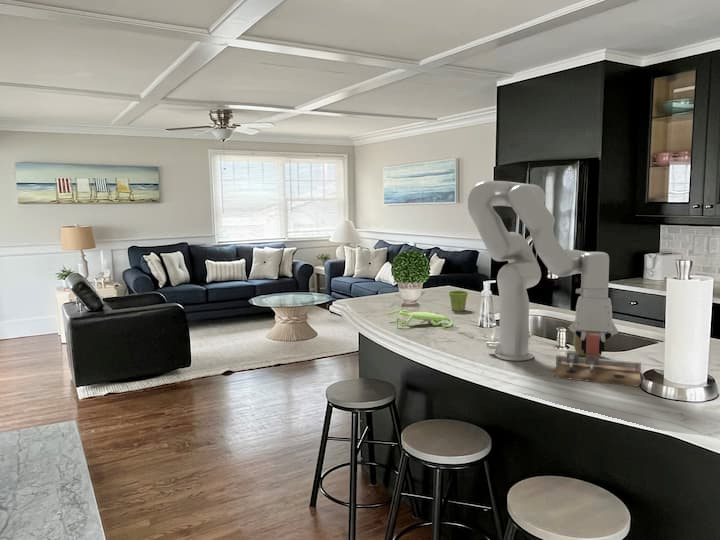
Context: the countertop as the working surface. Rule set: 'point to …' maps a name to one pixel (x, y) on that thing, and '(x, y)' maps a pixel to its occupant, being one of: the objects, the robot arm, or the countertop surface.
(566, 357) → the trammel rail
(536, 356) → the countertop surface
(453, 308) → the plant pot
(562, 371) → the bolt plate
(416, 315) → the figurine
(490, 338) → the countertop surface
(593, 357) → the sliding leg
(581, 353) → the squeeze bottle
